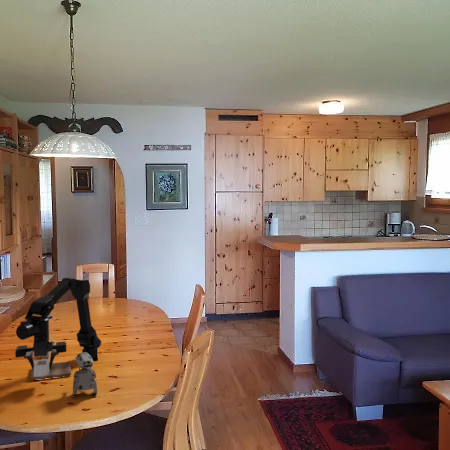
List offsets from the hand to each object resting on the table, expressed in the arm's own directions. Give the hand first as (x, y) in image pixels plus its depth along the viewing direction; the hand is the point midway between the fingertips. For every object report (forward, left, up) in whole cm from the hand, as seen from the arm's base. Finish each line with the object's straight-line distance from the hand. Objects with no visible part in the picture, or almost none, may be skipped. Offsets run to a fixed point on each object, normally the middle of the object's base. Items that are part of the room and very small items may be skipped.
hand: (41, 369), depth 175 cm
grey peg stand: (-3, -14, -7) cm, 16 cm away
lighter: (-1, -35, -7) cm, 36 cm away
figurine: (-16, +11, -7) cm, 21 cm away
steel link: (0, 0, -1) cm, 1 cm away
